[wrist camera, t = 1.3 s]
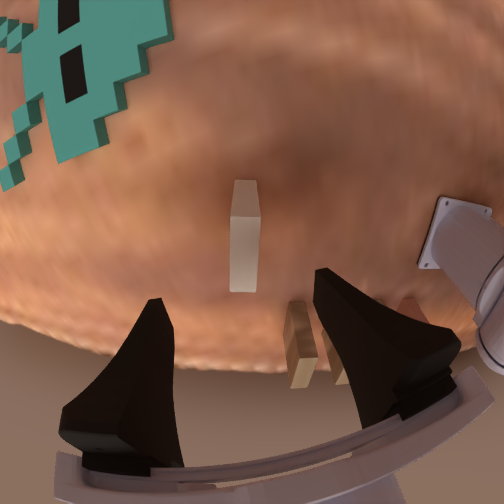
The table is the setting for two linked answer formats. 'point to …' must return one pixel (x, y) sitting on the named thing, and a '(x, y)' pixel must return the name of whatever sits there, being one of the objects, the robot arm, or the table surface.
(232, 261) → the white domino
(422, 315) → the domino
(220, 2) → the table surface
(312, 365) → the domino
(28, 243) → the table surface
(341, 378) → the domino
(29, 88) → the alien figure
